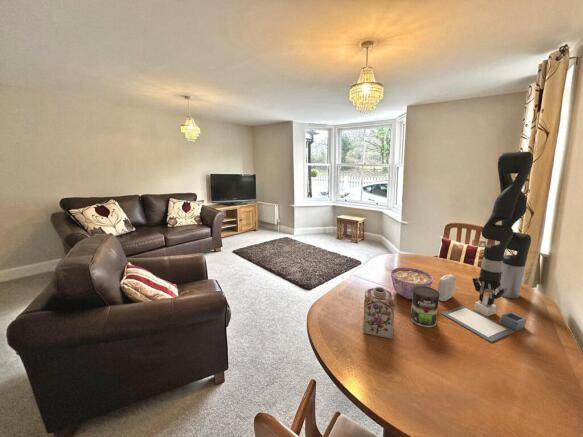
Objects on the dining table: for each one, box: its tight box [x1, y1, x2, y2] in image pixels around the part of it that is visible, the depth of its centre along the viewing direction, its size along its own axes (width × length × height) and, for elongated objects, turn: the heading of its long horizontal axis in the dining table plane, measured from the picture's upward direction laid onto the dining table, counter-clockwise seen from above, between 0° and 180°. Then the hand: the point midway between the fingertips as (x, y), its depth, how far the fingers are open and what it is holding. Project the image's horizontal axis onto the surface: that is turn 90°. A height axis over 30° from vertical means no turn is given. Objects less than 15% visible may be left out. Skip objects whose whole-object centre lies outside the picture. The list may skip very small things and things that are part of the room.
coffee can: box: [410, 286, 440, 328], centre depth 111 cm, size 10×10×14 cm
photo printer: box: [437, 274, 456, 302], centre depth 129 cm, size 10×4×12 cm, turn 123°
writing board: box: [441, 305, 515, 343], centre depth 110 cm, size 15×21×1 cm
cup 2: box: [499, 311, 527, 332], centre depth 107 cm, size 6×6×4 cm
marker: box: [482, 289, 489, 307], centre depth 117 cm, size 3×3×10 cm
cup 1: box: [473, 300, 497, 318], centre depth 117 cm, size 6×6×4 cm
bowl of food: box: [390, 266, 434, 300], centre depth 132 cm, size 20×20×12 cm
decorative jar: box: [362, 286, 396, 339], centre depth 106 cm, size 12×12×18 cm
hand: (485, 302), depth 117 cm, fingers closed on marker, 2 cm apart
